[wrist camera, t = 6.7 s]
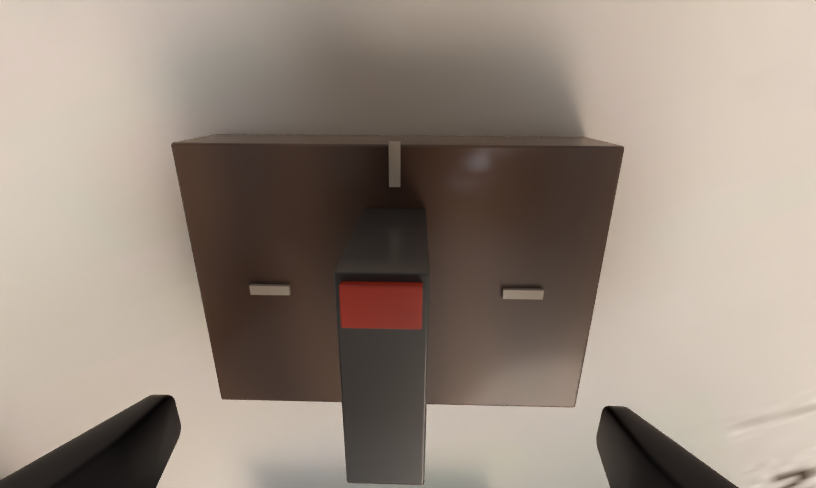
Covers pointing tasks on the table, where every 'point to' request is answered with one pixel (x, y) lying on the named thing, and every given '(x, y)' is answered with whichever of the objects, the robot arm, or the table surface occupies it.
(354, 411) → the dark grey block
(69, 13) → the table surface
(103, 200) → the table surface
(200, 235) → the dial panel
